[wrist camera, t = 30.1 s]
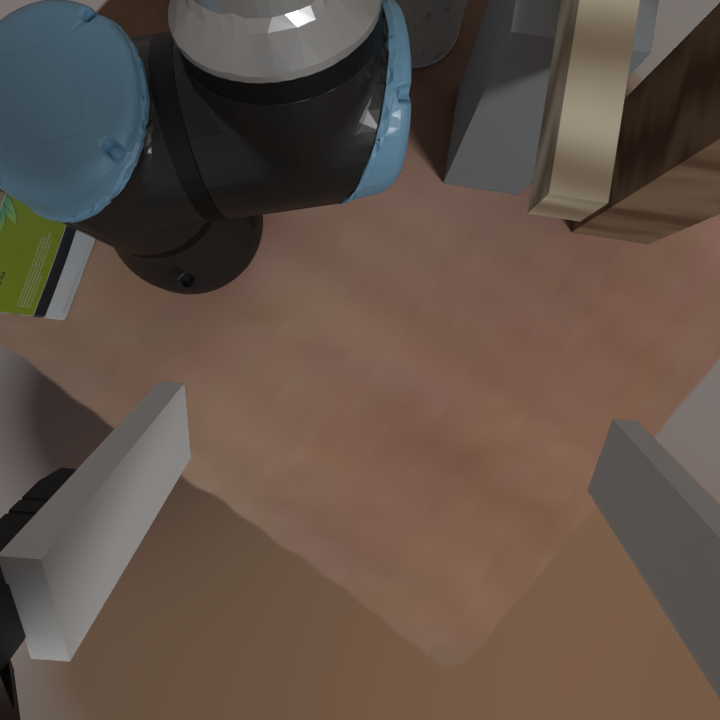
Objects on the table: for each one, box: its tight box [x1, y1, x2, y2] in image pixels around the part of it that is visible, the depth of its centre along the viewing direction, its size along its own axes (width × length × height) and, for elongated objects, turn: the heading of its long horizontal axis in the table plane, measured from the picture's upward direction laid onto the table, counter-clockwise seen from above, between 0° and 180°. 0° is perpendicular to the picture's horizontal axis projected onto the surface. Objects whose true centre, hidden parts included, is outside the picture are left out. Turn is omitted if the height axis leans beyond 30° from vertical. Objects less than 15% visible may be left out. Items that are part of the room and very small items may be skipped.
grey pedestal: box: [443, 0, 659, 195], centre depth 37 cm, size 10×8×22 cm
